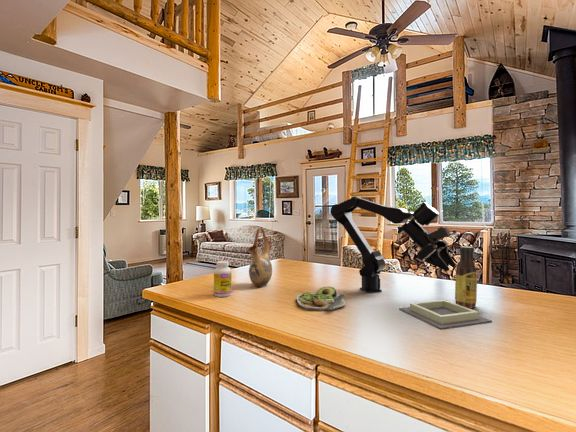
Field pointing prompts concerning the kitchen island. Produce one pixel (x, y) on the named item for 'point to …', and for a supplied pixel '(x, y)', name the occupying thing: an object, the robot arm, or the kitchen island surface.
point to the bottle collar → (462, 314)
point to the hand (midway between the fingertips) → (451, 268)
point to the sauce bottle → (466, 279)
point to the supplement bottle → (222, 279)
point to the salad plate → (322, 299)
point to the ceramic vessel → (260, 262)
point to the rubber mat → (443, 312)
